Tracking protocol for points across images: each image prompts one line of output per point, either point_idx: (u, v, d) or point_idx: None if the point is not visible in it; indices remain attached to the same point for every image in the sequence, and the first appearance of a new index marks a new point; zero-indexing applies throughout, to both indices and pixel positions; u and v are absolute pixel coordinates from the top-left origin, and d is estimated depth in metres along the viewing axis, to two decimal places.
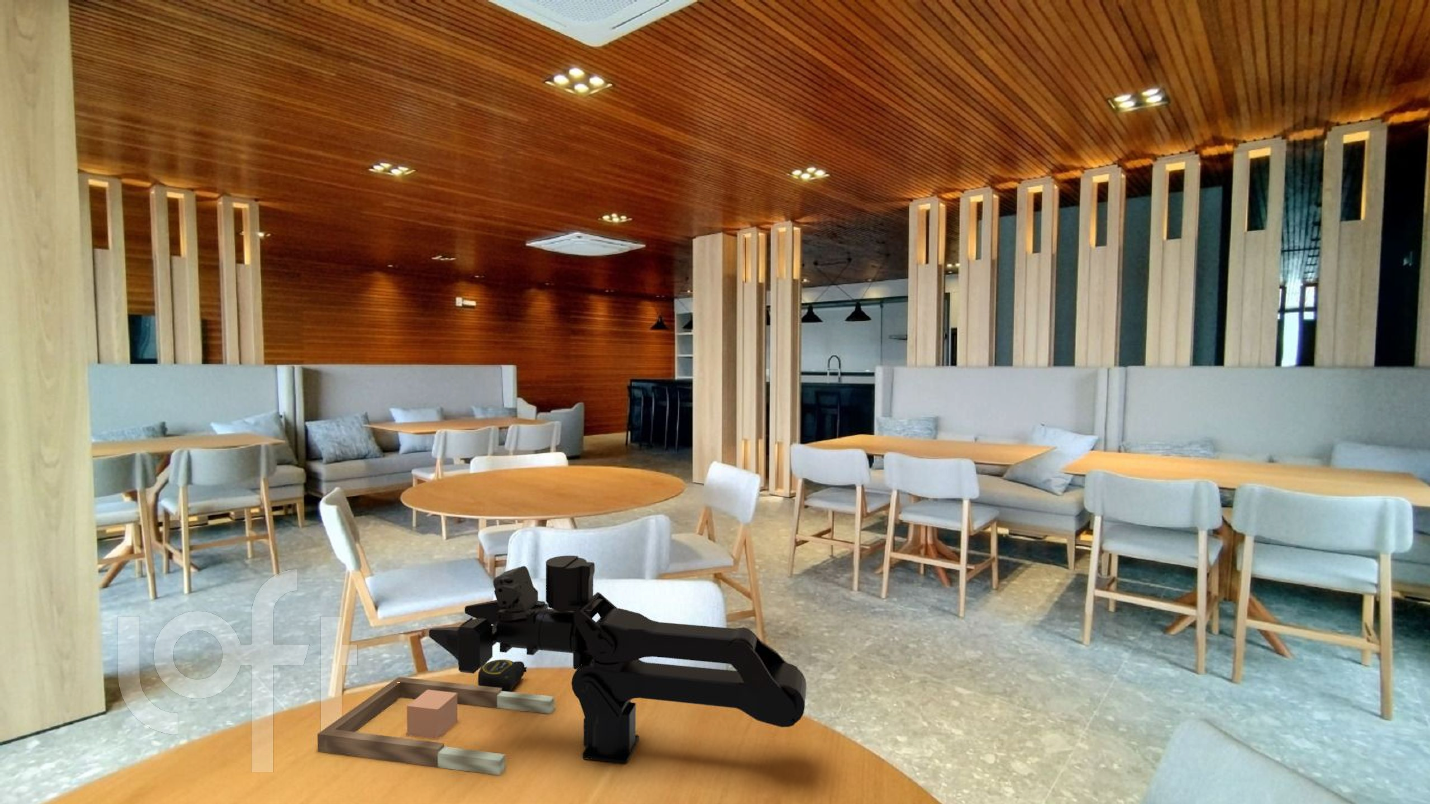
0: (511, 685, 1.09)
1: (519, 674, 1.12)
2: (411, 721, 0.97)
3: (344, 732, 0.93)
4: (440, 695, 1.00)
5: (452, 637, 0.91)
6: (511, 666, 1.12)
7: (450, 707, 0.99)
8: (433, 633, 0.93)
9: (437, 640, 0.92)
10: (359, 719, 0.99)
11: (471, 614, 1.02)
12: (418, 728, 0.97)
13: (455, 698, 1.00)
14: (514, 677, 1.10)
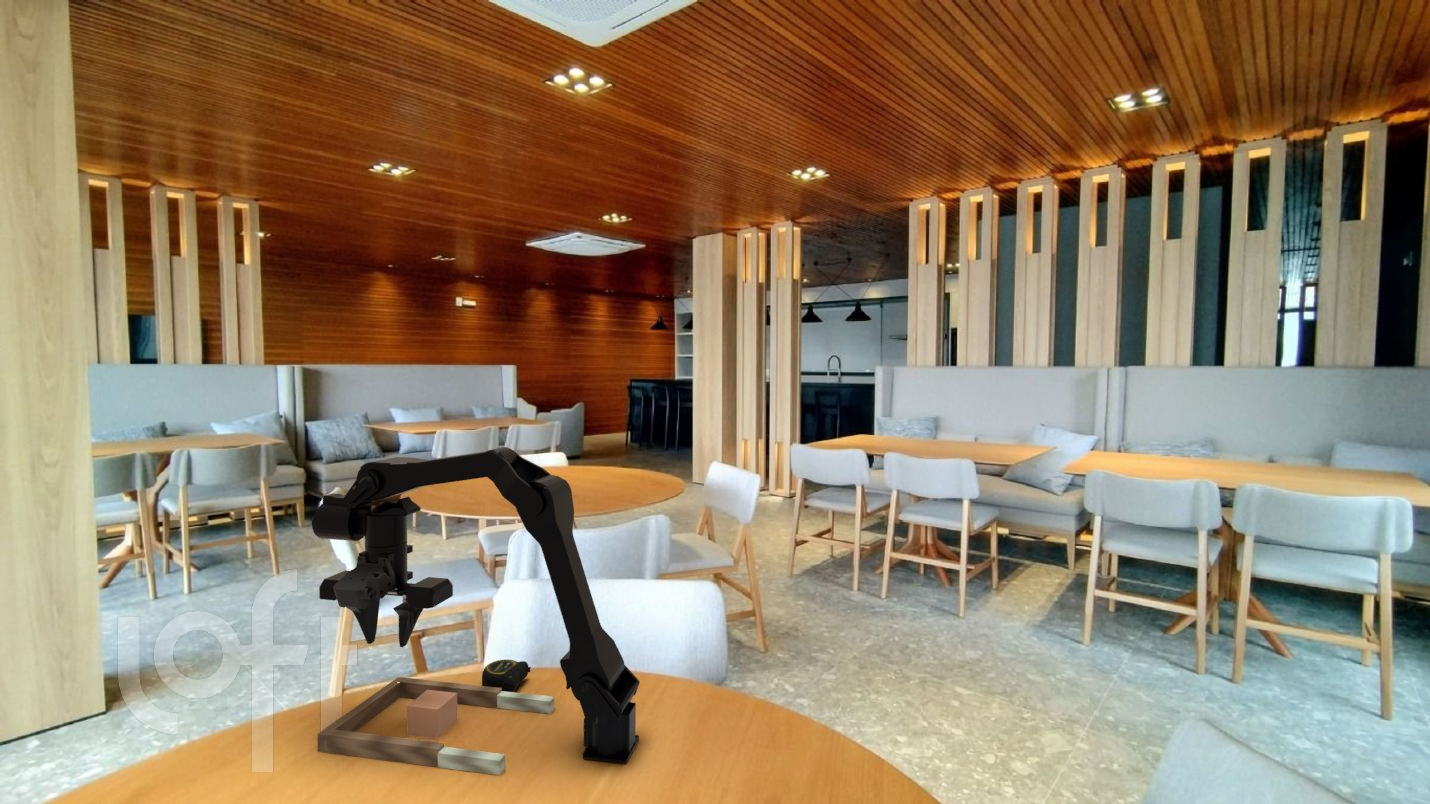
0: (515, 685, 1.09)
1: (523, 674, 1.12)
2: (411, 721, 0.97)
3: (344, 732, 0.93)
4: (440, 695, 1.00)
5: (409, 619, 0.99)
6: (515, 666, 1.12)
7: (450, 707, 0.99)
8: (405, 640, 0.99)
9: (410, 633, 1.00)
10: (359, 719, 0.99)
11: (374, 633, 1.01)
12: (418, 728, 0.97)
13: (455, 698, 1.00)
14: (518, 677, 1.10)
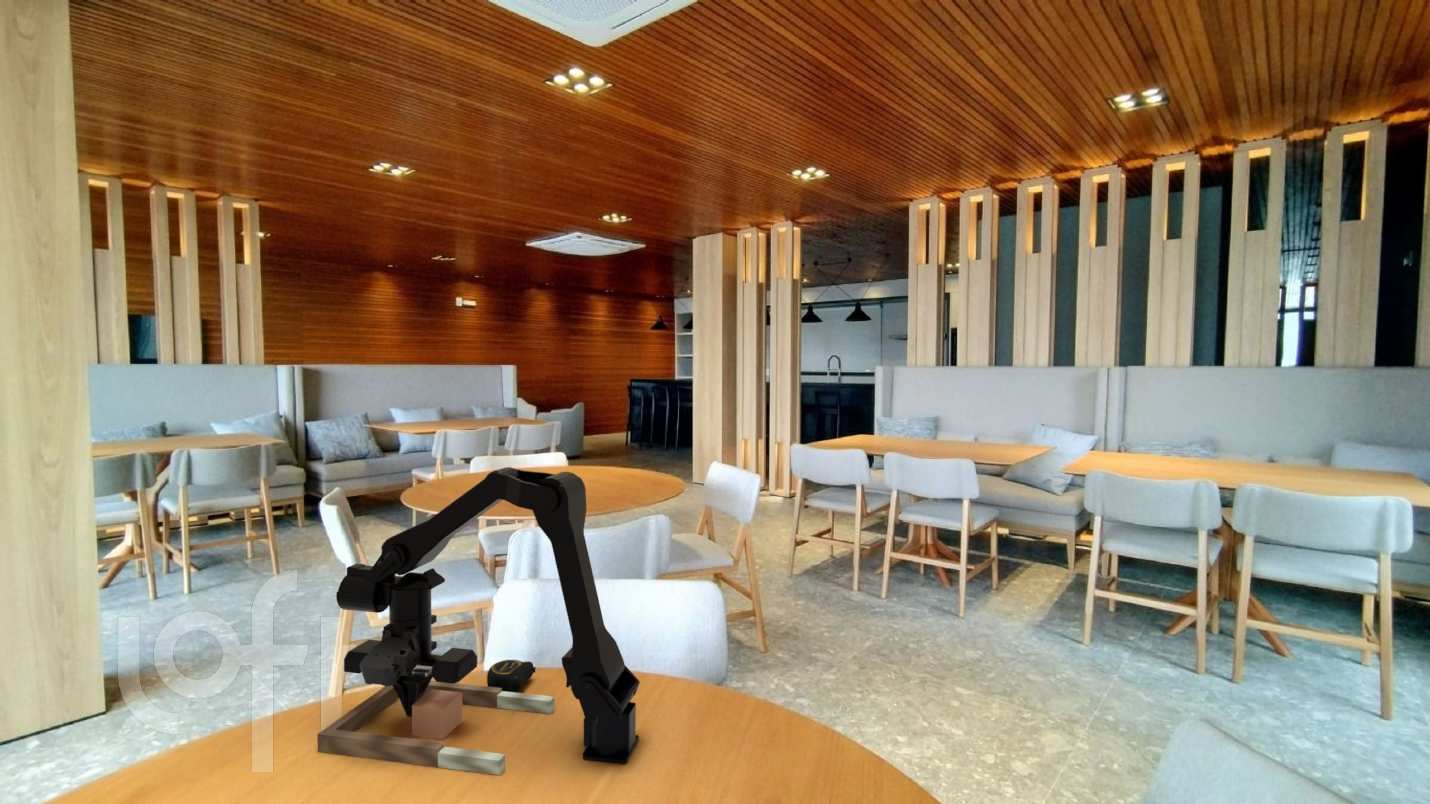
0: (520, 685, 1.09)
1: (528, 674, 1.12)
2: (416, 721, 0.97)
3: (344, 732, 0.93)
4: (445, 695, 1.00)
5: (418, 689, 0.99)
6: (520, 666, 1.12)
7: (455, 707, 0.99)
8: None
9: None
10: (359, 719, 0.99)
11: None
12: (423, 728, 0.97)
13: (460, 698, 1.00)
14: (523, 677, 1.10)
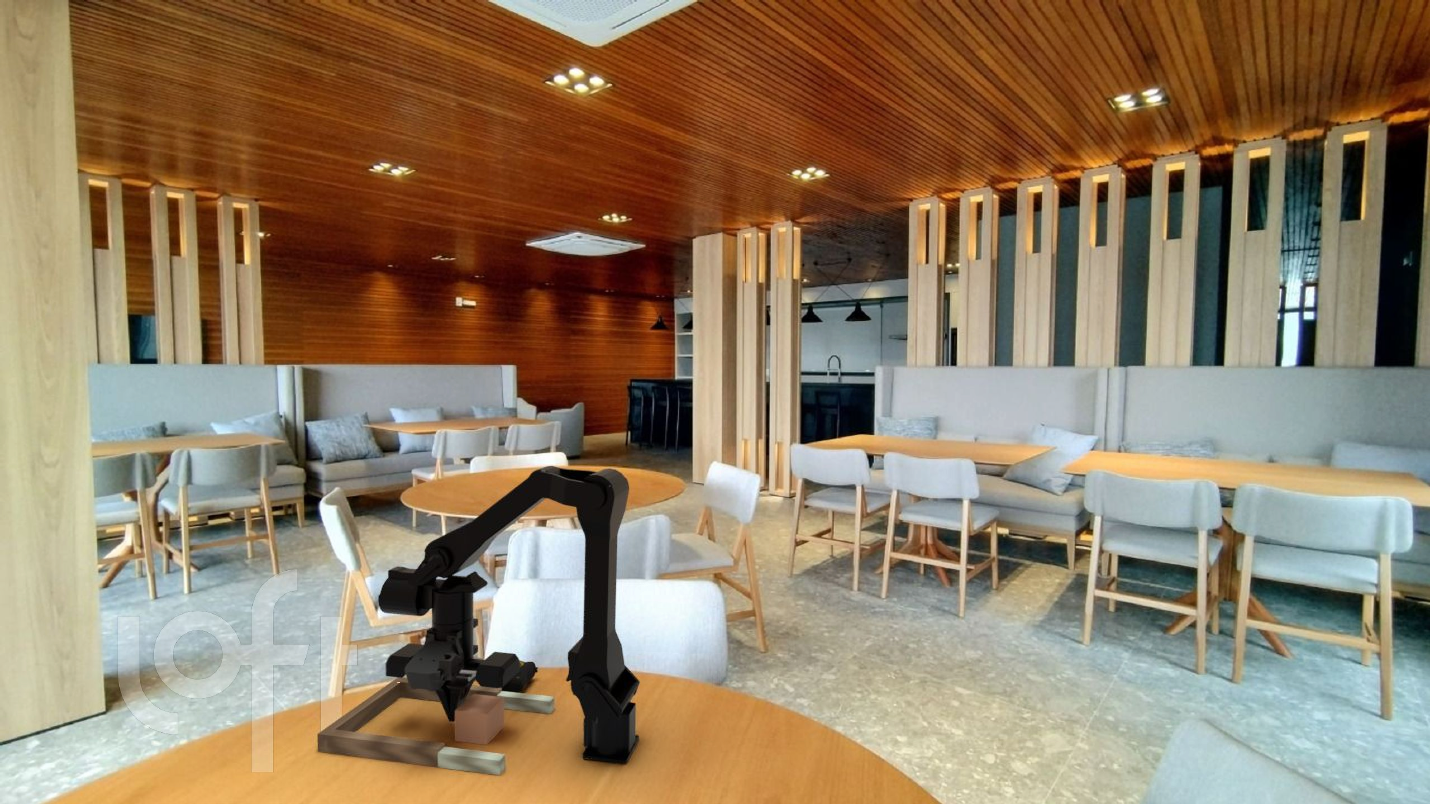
0: (523, 685, 1.09)
1: (530, 674, 1.12)
2: (459, 726, 0.95)
3: (344, 732, 0.93)
4: (487, 700, 0.98)
5: (460, 694, 0.98)
6: (522, 666, 1.12)
7: (497, 712, 0.98)
8: None
9: None
10: (359, 719, 0.99)
11: None
12: (466, 734, 0.95)
13: (502, 702, 0.99)
14: (525, 677, 1.10)
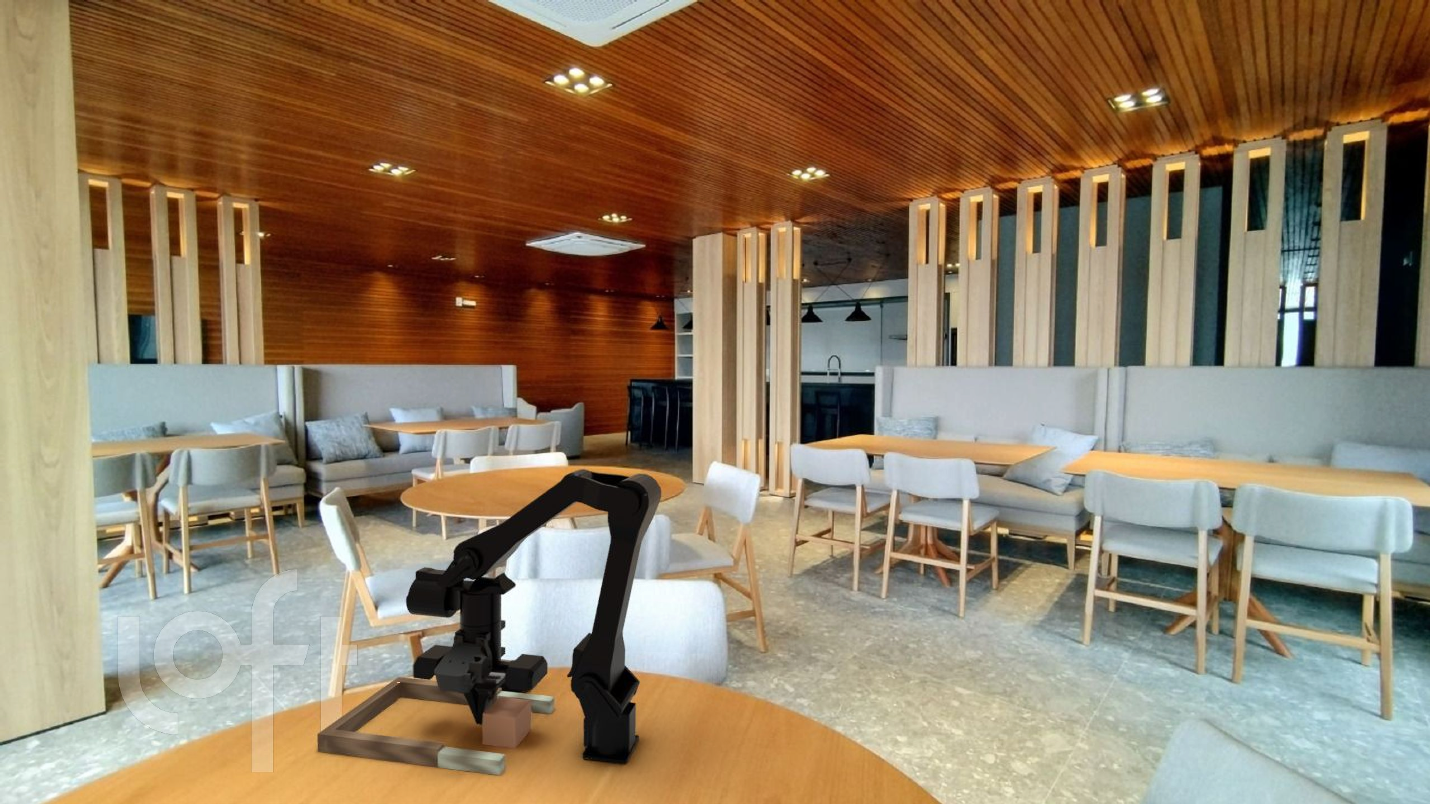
0: None
1: None
2: (487, 729, 0.95)
3: (344, 732, 0.93)
4: (515, 703, 0.98)
5: (488, 696, 0.97)
6: None
7: (525, 715, 0.97)
8: None
9: None
10: (359, 719, 0.99)
11: None
12: (494, 737, 0.94)
13: (529, 706, 0.98)
14: None
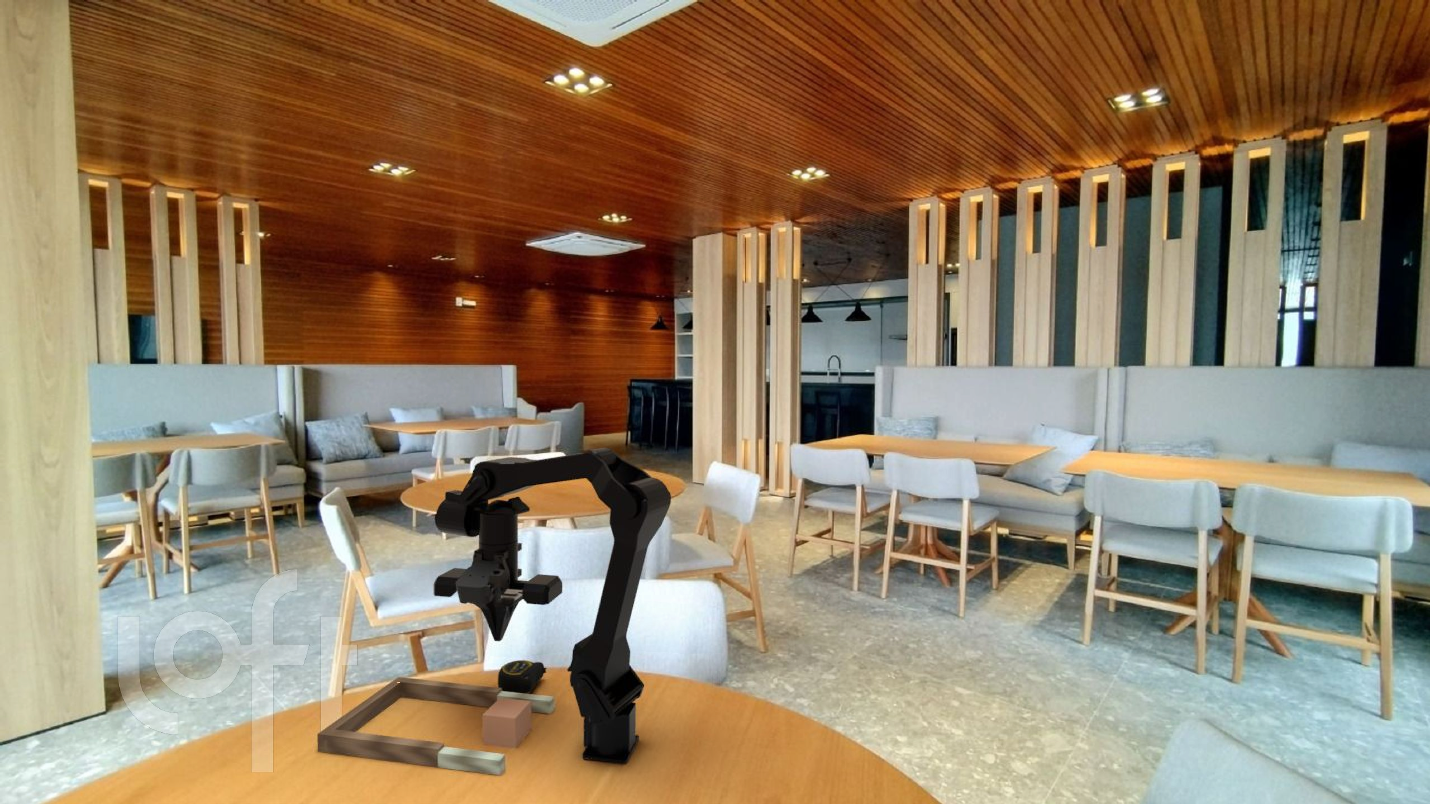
0: (531, 686, 1.09)
1: (539, 675, 1.12)
2: (487, 730, 0.95)
3: (344, 732, 0.93)
4: (514, 704, 0.98)
5: (506, 614, 1.01)
6: (531, 667, 1.12)
7: (525, 716, 0.97)
8: (501, 635, 1.02)
9: (506, 628, 1.02)
10: (359, 719, 0.99)
11: None
12: (494, 738, 0.94)
13: (529, 706, 0.98)
14: (534, 678, 1.10)
